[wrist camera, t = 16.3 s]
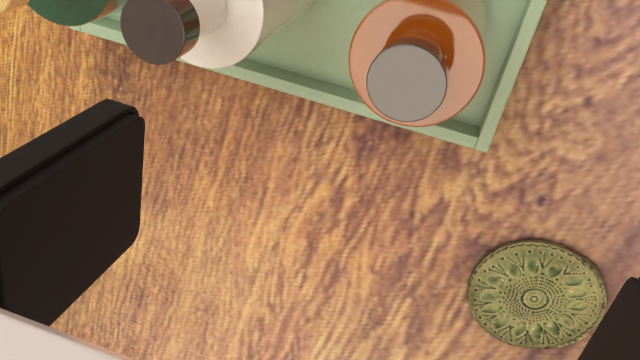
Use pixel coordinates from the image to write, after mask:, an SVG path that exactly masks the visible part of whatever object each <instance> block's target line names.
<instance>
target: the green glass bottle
mask: <svg viewBox="0 0 640 360" xmlns="http://www.w3.org/2000/svg"><path fill="white" fill-rule="evenodd" d="M127 1H128V0H0V14H1V13H4V12H8V11H11V10H15V9H18V8H21V7H23V6H25V5H26V4H27V5H28V6H29V7H30V8H31V9H32V10H34V11H35V12H36V13H37V14H39V15H40V16H42V17H43V18H45V19H47V20H49V21H51V22H53V23H56V24H59V25H64V26H80V25H85V24H87V23H90V22H93V21H95V20H98V19H101V18H104V17H106V16H109V15H112V14H115V13H117V12H120V11H122V9H123V7H124V5H125V3H126V2H127Z"/></svg>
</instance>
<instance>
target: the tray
mask: <svg viewBox="0 0 640 360" xmlns="http://www.w3.org/2000/svg"><path fill="white" fill-rule="evenodd" d="M379 1H380V0H316V2H315V4H314V5H313V6H312V7H311V9H310V10H309V11H308V12H307V13H305V14H304V15H302V16H301V17H300V18H298V19H297V20H296V21H294V22H293V23H292V24H290V25H289V26H287V27H286V28H285V29H283V30H282V31H281V32H279V33H278V34H277V35H275V36H274V37H272V38H271V39H270V40H268V41H267V42H266V43H264V44H263V45H262V46H260V47H259V48H257V49H256V50H255V51H253V52H252V53H251V54H249V55H248V56H247V57H245V58H244V59H242V60H241V61H240V62H238V63H236V64H234V65H231V66H228V67H224V68H217V69H210V68H204V69H208V70H211V71H214V72H218V73H221V74H224V75H228V76H231V77H234V78H238V79H241V80H244V81H248V82H251V83H254V84H258V85H261V86H264V87H268V88H271V89H274V90H278V91H281V92H284V93H288V94H291V95H294V96H298V97H301V98H304V99H308V100H311V101H314V102H318V103H321V104H324V105H328V106H331V107H334V108H338V109H341V110H344V111H348V112H351V113H354V114H358V115H361V116H364V117H368V118H371V119H375V120H378V121H381V122H385V123H388V124H391V125H395V126H398V127H401V128H405V129H408V130H411V131H415V132H418V133H421V134H425V135H428V136H431V137H435V138H438V139H441V140H445V141H448V142H451V143H455V144H458V145H461V146H465V147H468V148H471V149H475V150H478V151H482V152H485V153H487V152H488V149H489V147H490V144H491V142H492V139H493V137H494V134H495V132H496V129H497V127H498V124H499V122H500V119H501V116H502V114H503V111H504V109H505V106H506V104H507V101H508V99H509V96H510V94H511V91H512V89H513V86H514V84H515V81H516V79H517V76H518V74H519V71H520V69H521V66H522V63H523V61H524V58H525V56H526V53H527V51H528V48H529V46H530V43H531V41H532V38H533V36H534V33H535V31H536V28H537V26H538V23H539V21H540V18H541V15H542V13H543V10H544V8H545V5H546V3H547V0H486V2H487V8H488V25H487V44H486V63H485V71H484V76H483V79H482V83H481V85H480V87H479V90H478V91H477V93H476V95H475V96H474V98H473V99H472V101H471V102H470V103H469V104H468V105H467V106H466V107H465V108H464V109H463V110H462V111H461V112H460V113H458V114H457V115H455V116H454V117H452V118H450V119H449V120H447V121H444V122H442V123H439V124H435V125H432V126H425V127H408V126H402V125H398V124H395V123H392V122H389V121H387V120H385V119H383V118H381V117H380V116H378V115H377V114H375V113H374V112H373V111H372V110H371V109H369V108H368V107H367V106H366V104H365V103H364V102H363V101H362V100H361V98H360V97H359V95H358V94H357V92H356V90H355V88H354V86H353V83H352V80H351V77H350V72H349V64H348V56H349V48H350V44H351V40H352V37H353V35H354V33H355V30H356V28H357V27H358V25H359V24H360V22H361V21H362V20H363V18H364V17H365V16H366V15H367V14H368V13H369V11H370V10H371V9H372V8H373V7H374V6H375V5H376V4H377V3H378V2H379ZM121 12H122V11H120V12H117V13H115V14H112V15H109V16H106V17H104V18H101V19H98V20H95V21H93V22H90V23H87V24H85V25H80V26H70V29H74V30H77V31H81V32H84V33H87V34H91V35H94V36H97V37H101V38H104V39H107V40H111V41H114V42H117V43H121V44H124V45H127V44H126V42H125V40H124V38H123V35H122V32H121V27H120V17H121ZM127 46H128V45H127ZM176 60H178V61H181V62H184V63H188V62H186V61H184V60H183V59H181V58H178V59H176ZM188 64H190V63H188ZM191 65H193V64H191ZM194 66H196V65H194ZM198 67H199V66H198ZM201 68H203V67H201Z"/></svg>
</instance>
